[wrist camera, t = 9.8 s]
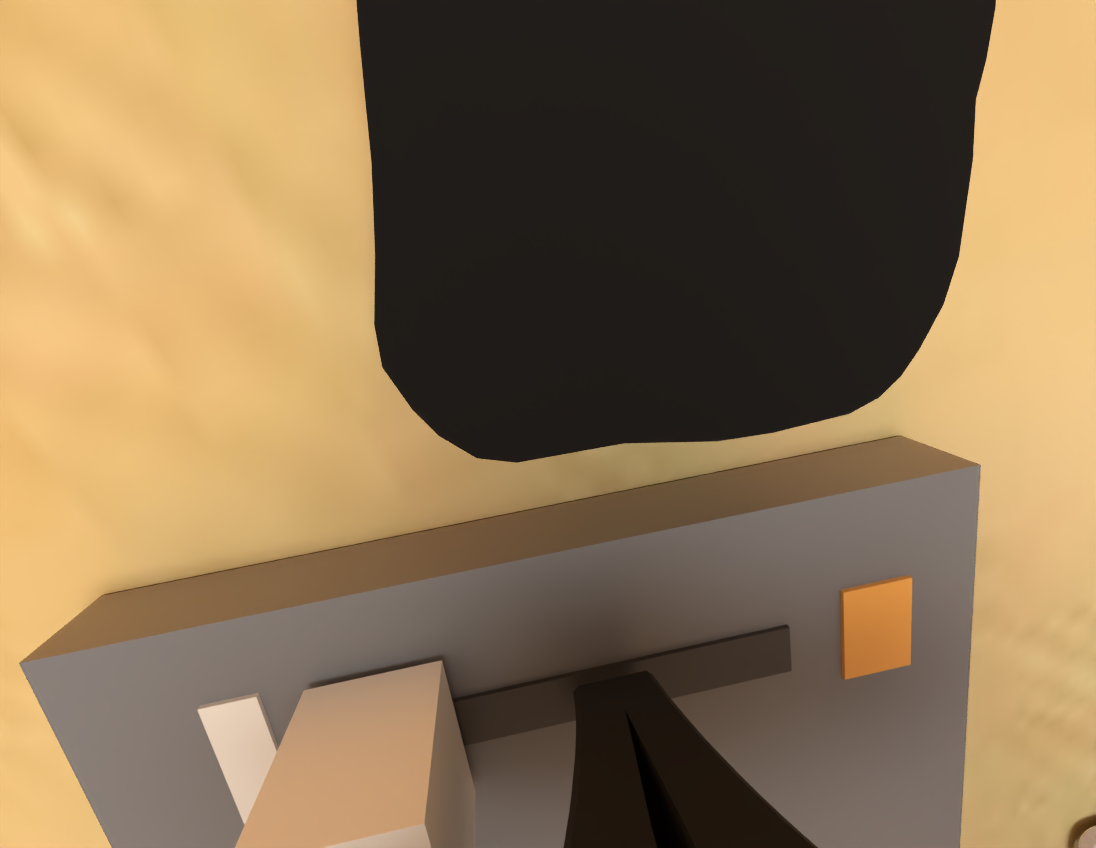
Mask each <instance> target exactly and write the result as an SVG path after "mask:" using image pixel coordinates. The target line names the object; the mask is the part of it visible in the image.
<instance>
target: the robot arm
mask: <svg viewBox="0 0 1096 848" xmlns="http://www.w3.org/2000/svg"><path fill="white" fill-rule="evenodd" d="M573 696H574V702H575V713H576V744H575V762H574V772H573V782H572V792H571V802H570V809H569V816H568V822H567V829H566V835H565V841H564V847H563V848H818V847H817V846H816V845H814V844H813V843H812V842H811V841H810V840H809V839H808V838H807V837H805V836H804V835H803V834H802V833H801V832H800V831H799V830H798V829H796V828H795V827H794V826H793V825H792V824H791V823H790V822H789V821H788V820H786V819H785V818H784V817H783V816H782V815H781V814H780V813H779V812H778V811H777V810H776V809H775V808H774V807H773V806H772V805H770V804H769V803H768V802H767V801H766V800H765V799H764V798H763V797H762V796H761V795H760V794H759V793H758V792H757V791H756V790H755V789H754V788H753V787H752V786H751V785H750V784H749V783H748V782H747V781H746V780H745V779H744V778H743V777H742V776H741V775H740V774H739V773H738V772H737V771H736V770H735V769H734V768H733V767H732V766H731V765H730V764H729V763H728V762H727V761H726V760H725V759H724V758H723V757H722V756H721V755H720V754H719V752H718V751H717V750H716V749H715V748H714V747H713V746H712V745H711V744H710V743H709V742H708V741H707V740H706V739H705V738H704V736H703V735H702V734H701V733H700V732H699V731H698V730H697V729H696V728H695V726H694V725H693V724H692V723H691V722H690V721H689V719H688V718H687V717H686V716H685V715H684V714H683V713H682V711H681V710H680V709H679V708H678V707H677V705H676V704H675V703H674V702H673V701H672V699H671V698H670V697H669V695H668V694H667V693H666V692H665V690H664V689H663V688H662V686H661V685H660V684H659V682H658V681H657V680H656V678H655V677H654V675H653V674H651V673H649V672H648V671H642V672H637V673H633V674H628V675H624V676H619V677H615V678H610V679H606V680H602V681H597V682H593V683H588V684H584V685H579V686H578V687H577V688H576V689H575V691H574V692H573ZM1078 848H1096V825H1095V826H1093V827H1090V828H1089V829H1087V830H1086V831H1085V832H1084V833H1083V834H1082V835H1081V837H1080V840H1079V845H1078Z"/></svg>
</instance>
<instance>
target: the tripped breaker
mask: <svg viewBox="0 0 1096 848" xmlns="http://www.w3.org/2000/svg"><path fill="white" fill-rule="evenodd" d="M475 793H476V792H475V788H474V784H473V780H472V776H471V772H470V768H469V764H468V760H467V756H466V752H465V748H464V745H463V741H462V737H461V733H460V729H459V725H458V721H457V717H456V713H455V709H454V705H453V701H452V698H451V694H450V690H449V686H448V682H447V678H446V674H445V670H444V666H443V662H442V660H441V661H436V662H432V663H427V664H422V665H418V666H413V667H409V668H404V669H399V670H395V671H390V672H386V673H381V674H376V675H372V676H367V677H363V678H358V679H353V680H349V681H344V682H340V683H335V684H330V685H326V686H321V687H317V688H312V689H307V690H304V691H303V693H302V696H301V698H300V700H299V703H298V705H297V707H296V709H295V712H294V714H293V716H292V719H291V721H290V723H289V725H288V728H287V730H286V732H285V734H284V737H283V739H282V741H281V744H280V746H279V748H278V750H277V753H276V755H275V757H274V759H273V762H272V764H271V766H270V769H269V771H268V773H267V775H266V778H265V780H264V782H263V785H262V787H261V789H260V791H259V794H258V796H257V798H256V800H255V803H254V805H253V807H252V810H251V812H250V814H249V816H248V819H247V821H246V823H245V826H244V828H243V830H242V832H241V835H240V837H239V839H238V841H237V844H236V846H235V848H475Z"/></svg>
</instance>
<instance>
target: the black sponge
mask: <svg viewBox="0 0 1096 848" xmlns="http://www.w3.org/2000/svg"><path fill="white" fill-rule="evenodd" d="M995 4H996V0H357V12H358V24H359V37H360V48H361V58H362V69H363V79H364V90H365V101H366V110H367V120H368V130H369V140H370V150H371V160H372V182H373V208H374V235H375V321H374V324H375V330H376V335H377V341H378V346H379V352H380V357H381V362H382V367H383V369H384V370H385V372H386V373H387V374H388V376H389V377H390V379H391V380H392V381H393V383H394V384H395V386H396V387H397V388H398V390H399V391H400V393H401V394H402V395H403V397H404V398H405V400H406V401H407V403H408V404H409V405H410V407H411V408H412V410H413V411H414V412H415V413H416V414H417V415H418V416H420V417H421V418H422V419H423V420H424V421H425V422H426V423H427V424H428V425H429V426H430V427H431V428H432V429H433V430H434V431H435V432H436V433H437V434H438V435H439V436H440V437H442V438H444V439H445V440H447V441H449V442H450V443H452V444H454V445H455V446H457V447H459V448H461V449H462V450H464V451H466V452H467V453H469V454H471V455H472V456H474V457H476V458H481V459H490V460H499V461H508V462H522V461H528V460H534V459H539V458H545V457H550V456H556V455H561V454H567V453H572V452H578V451H583V450H589V449H595V448H600V447H606V446H611V445H617V444H622V443H656V442H704V441H722V440H728V439H735V438H741V437H748V436H754V435H761V434H767V433H773V432H777V431H781V430H785V429H789V428H793V427H798V426H802V425H806V424H810V423H814V422H818V421H822V420H826V419H830V418H834V417H838V416H842V415H846V414H850V413H851V412H853V411H855V410H857V409H859V408H861V407H862V406H864V405H866V404H868V403H870V402H871V401H873V400H875V399H877V398H879V397H880V396H881V395H882V394H883V393H884V392H885V391H886V390H887V389H888V388H889V387H890V386H891V385H892V384H893V383H894V382H895V381H896V380H897V379H898V378H899V377H900V376H901V375H902V374H903V372H904V371H905V369H906V368H907V366H908V365H909V363H910V362H911V361H912V359H913V358H914V356H915V355H916V353H917V352H918V350H919V349H920V347H921V345H922V343H923V341H924V339H925V338H926V336H927V334H928V332H929V330H930V328H931V326H932V325H933V323H934V321H935V319H936V317H937V315H938V314H939V312H940V310H941V308H942V306H943V304H944V301H945V298H946V295H947V292H948V289H949V286H950V282H951V279H952V276H953V273H954V270H955V267H956V264H957V261H958V257H959V252H960V245H961V238H962V231H963V224H964V217H965V210H966V203H967V196H968V189H969V182H970V175H971V168H972V161H973V144H974V124H975V105H976V97H977V93H978V89H979V85H980V81H981V77H982V74H983V70H984V66H985V62H986V58H987V52H988V46H989V40H990V35H991V29H992V23H993V18H994V12H995Z"/></svg>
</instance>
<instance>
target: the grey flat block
mask: <svg viewBox="0 0 1096 848" xmlns="http://www.w3.org/2000/svg"><path fill="white" fill-rule="evenodd" d="M980 467H981V465H980V464H977V463H974V462H971V461H969V460H966V459H963V458H960V457H958V456H955V455H952V454H949V453H947V452H944V451H941V450H938V449H936V448H933V447H930V446H927V445H925V444H922V443H919V442H917V441H914V440H911V439H908V438H906V437H903V436H897V437H892V438H887V439H882V440H877V441H872V442H867V443H862V444H857V445H852V446H847V447H842V448H837V449H832V450H827V451H822V452H817V453H812V454H807V455H802V456H797V457H792V458H787V459H782V460H777V461H772V462H767V463H762V464H757V465H752V466H747V467H742V468H737V469H732V470H727V471H722V472H717V473H712V474H707V475H702V476H697V477H692V478H687V479H682V480H677V481H672V482H667V483H662V484H657V485H652V486H647V487H642V488H637V489H632V490H627V491H622V492H617V493H612V494H607V495H602V496H597V497H592V498H587V499H582V500H577V501H572V502H567V503H562V504H557V505H552V506H547V507H542V508H537V509H532V510H527V511H522V512H517V513H512V514H507V515H502V516H497V517H492V518H487V519H482V520H477V521H472V522H467V523H462V524H457V525H452V526H447V527H442V528H437V529H432V530H427V531H422V532H417V533H412V534H407V535H402V536H397V537H392V538H387V539H382V540H377V541H372V542H367V543H362V544H357V545H352V546H347V547H342V548H337V549H332V550H327V551H322V552H317V553H312V554H307V555H302V556H297V557H292V558H287V559H282V560H277V561H272V562H267V563H262V564H257V565H252V566H247V567H242V568H237V569H232V570H227V571H222V572H217V573H212V574H207V575H202V576H197V577H192V578H187V579H182V580H177V581H172V582H167V583H162V584H157V585H152V586H147V587H142V588H137V589H132V590H127V591H122V592H117V593H112V594H107V595H102V596H101V597H99V598H98V599H97V600H96V601H94V602H93V603H92V604H91V605H90V606H88V607H87V608H86V609H85V610H83V611H82V612H81V613H80V614H79V615H77V616H76V617H75V618H74V619H73V620H71V621H70V622H69V623H68V624H66V625H65V626H64V627H63V628H62V629H60V630H59V631H58V632H57V633H55V634H54V635H53V636H52V637H51V638H49V639H48V640H47V641H46V642H44V643H43V644H42V645H41V646H40V647H38V648H37V649H36V650H35V651H33V652H32V653H31V654H30V655H29V656H27V657H26V658H25V659H24V660H23V661H21V662H20V663H19V664H20V666H21V668H22V670H23V672H24V674H25V676H26V678H27V680H28V682H29V684H30V686H31V688H32V690H33V692H34V694H35V696H36V698H37V700H38V702H39V704H40V706H41V708H42V710H43V712H44V714H45V716H46V718H47V720H48V722H49V724H50V726H51V728H52V730H53V731H54V733H55V735H56V737H57V739H58V741H59V743H60V745H61V747H62V749H63V751H64V753H65V755H66V757H67V759H68V761H69V763H70V765H71V767H72V769H73V771H74V773H75V775H76V777H77V779H78V781H79V783H80V785H81V787H82V789H83V791H84V793H85V795H86V797H87V799H88V801H89V803H90V805H91V807H92V809H93V811H94V813H95V815H96V817H97V819H98V821H99V823H100V825H101V827H102V829H103V831H104V833H105V835H106V837H107V839H108V841H109V843H110V845H111V847H112V848H235V846H236V844H237V841H238V839H239V837H240V835H241V832H242V830H243V828H244V826H245V823H246V821H247V819H248V816H249V814H250V812H251V810H252V807H253V805H254V803H255V800H256V798H257V796H258V794H259V791H260V789H261V787H262V785H263V782H264V780H265V778H266V775H267V773H268V771H269V769H270V766H271V764H272V762H273V759H274V757H275V755H276V753H277V750H278V748H279V746H280V744H281V741H282V739H283V737H284V734H285V732H286V730H287V728H288V725H289V723H290V721H291V719H292V716H293V714H294V712H295V709H296V707H297V705H298V703H299V700H300V698H301V696H302V693H303V691H304V690H307V689H312V688H317V687H321V686H326V685H330V684H335V683H340V682H344V681H349V680H353V679H358V678H363V677H367V676H372V675H376V674H381V673H386V672H390V671H395V670H399V669H404V668H409V667H413V666H418V665H422V664H427V663H432V662H436V661H441V660H442V662H443V666H444V670H445V674H446V678H447V682H448V686H449V690H450V694H451V698H452V701H453V705H454V709H455V713H456V717H457V721H458V725H459V729H460V733H461V737H462V741H463V745H464V748H465V752H466V756H467V760H468V764H469V768H470V772H471V776H472V780H473V784H474V788H475V792H476V793H475V848H563V847H564V841H565V835H566V829H567V822H568V816H569V809H570V802H571V792H572V782H573V772H574V762H575V744H576V713H575V702H574V696H573V692H574V691H575V689H576V688H577V687H578V686H579V685H584V684H588V683H593V682H597V681H602V680H606V679H610V678H615V677H619V676H624V675H628V674H633V673H637V672H642V671H648V672H649V673H651V674H653V675H654V677H655V678H656V680H657V681H658V682H659V684H660V685H661V686H662V688H663V689H664V690H665V692H666V693H667V694H668V695H669V697H670V698H671V699H672V701H673V702H674V703H675V704H676V705H677V707H678V708H679V709H680V710H681V711H682V713H683V714H684V715H685V716H686V717H687V718H688V719H689V721H690V722H691V723H692V724H693V725H694V726H695V728H696V729H697V730H698V731H699V732H700V733H701V734H702V735H703V736H704V738H705V739H706V740H707V741H708V742H709V743H710V744H711V745H712V746H713V747H714V748H715V749H716V750H717V751H718V752H719V754H720V755H721V756H722V757H723V758H724V759H725V760H726V761H727V762H728V763H729V764H730V765H731V766H732V767H733V768H734V769H735V770H736V771H737V772H738V773H739V774H740V775H741V776H742V777H743V778H744V779H745V780H746V781H747V782H748V783H749V784H750V785H751V786H752V787H753V788H754V789H755V790H756V791H757V792H758V793H759V794H760V795H761V796H762V797H763V798H764V799H765V800H766V801H767V802H768V803H769V804H770V805H772V806H773V807H774V808H775V809H776V810H777V811H778V812H779V813H780V814H781V815H782V816H783V817H784V818H785V819H786V820H788V821H789V822H790V823H791V824H792V825H793V826H794V827H795V828H796V829H798V830H799V831H800V832H801V833H802V834H803V835H804V836H805V837H807V838H808V839H809V840H810V841H811V842H812V843H813V844H814V845H816V846H817V847H818V848H960V833H961V815H962V797H963V778H964V760H965V742H966V724H967V705H968V687H969V669H970V650H971V632H972V614H973V595H974V577H975V559H976V541H977V522H978V504H979V486H980Z"/></svg>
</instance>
